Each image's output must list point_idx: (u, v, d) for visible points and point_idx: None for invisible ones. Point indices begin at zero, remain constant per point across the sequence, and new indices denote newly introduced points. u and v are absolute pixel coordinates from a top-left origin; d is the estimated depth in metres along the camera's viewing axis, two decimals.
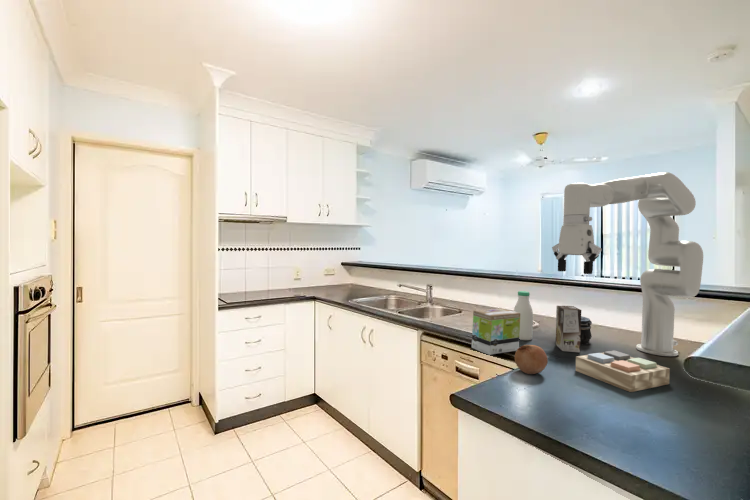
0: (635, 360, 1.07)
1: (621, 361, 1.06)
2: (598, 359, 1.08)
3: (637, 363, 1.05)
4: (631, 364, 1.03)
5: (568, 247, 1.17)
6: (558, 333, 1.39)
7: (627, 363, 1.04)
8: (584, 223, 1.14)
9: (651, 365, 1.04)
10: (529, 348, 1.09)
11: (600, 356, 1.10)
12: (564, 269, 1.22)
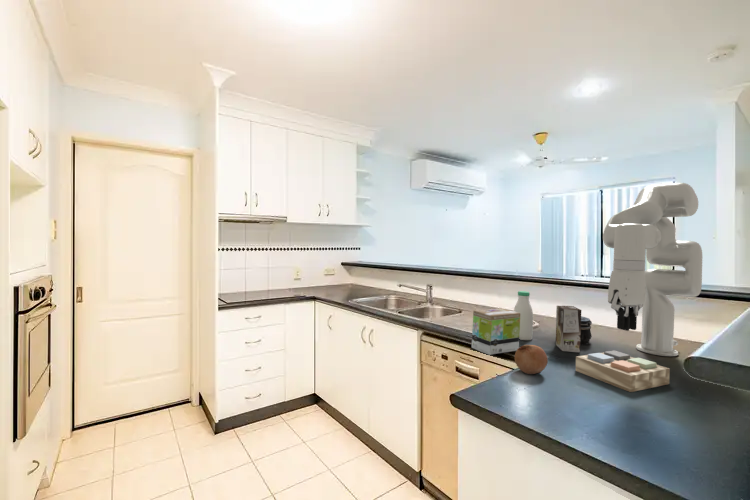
0: (635, 360, 1.07)
1: (621, 361, 1.06)
2: (598, 359, 1.08)
3: (637, 363, 1.05)
4: (631, 364, 1.03)
5: (634, 297, 1.01)
6: (558, 333, 1.39)
7: (627, 363, 1.04)
8: None
9: (651, 365, 1.04)
10: (529, 348, 1.09)
11: (600, 356, 1.10)
12: None
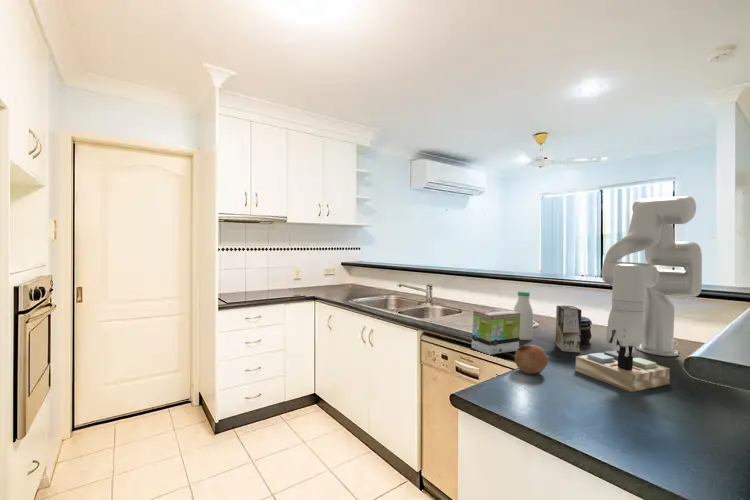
0: (635, 360, 1.07)
1: None
2: (598, 359, 1.08)
3: (637, 363, 1.05)
4: None
5: (632, 338, 1.01)
6: (558, 333, 1.39)
7: None
8: None
9: (651, 365, 1.04)
10: (529, 348, 1.09)
11: (600, 356, 1.10)
12: None
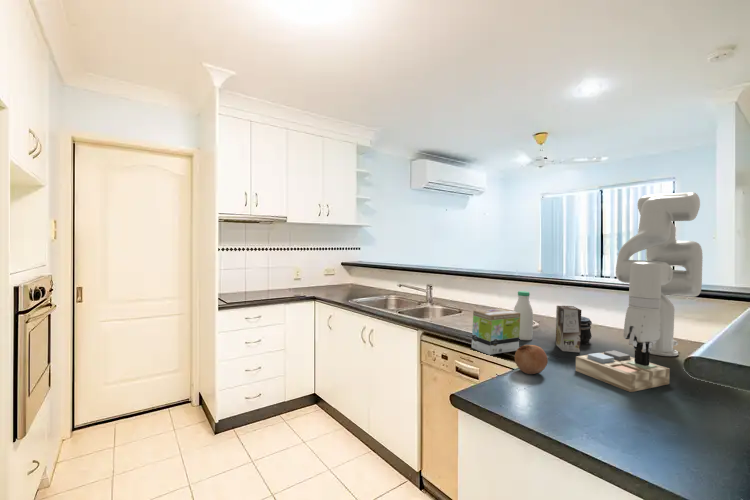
0: (635, 363, 1.07)
1: (621, 366, 1.06)
2: (598, 359, 1.08)
3: (637, 366, 1.05)
4: (631, 370, 1.03)
5: (649, 334, 1.03)
6: (558, 333, 1.39)
7: (627, 369, 1.04)
8: None
9: None
10: (529, 348, 1.09)
11: (600, 356, 1.10)
12: None
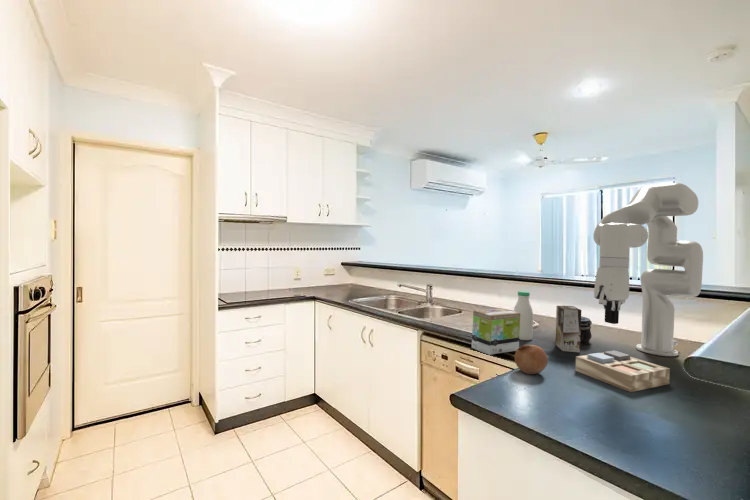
0: None
1: (621, 366, 1.06)
2: (598, 359, 1.08)
3: None
4: (631, 370, 1.03)
5: (618, 293, 1.06)
6: (558, 333, 1.39)
7: (627, 369, 1.04)
8: None
9: None
10: (529, 348, 1.09)
11: (600, 356, 1.10)
12: None
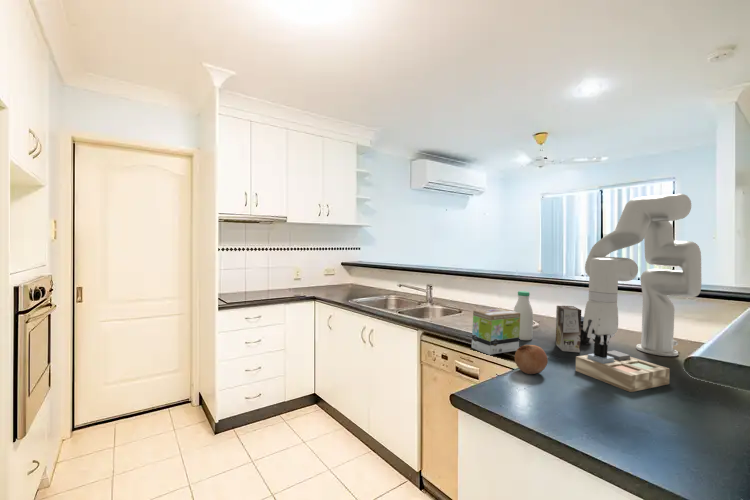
0: None
1: (621, 366, 1.06)
2: (598, 359, 1.08)
3: None
4: (631, 370, 1.03)
5: (607, 327, 1.08)
6: (558, 333, 1.39)
7: (627, 369, 1.04)
8: None
9: None
10: (529, 348, 1.09)
11: None
12: None
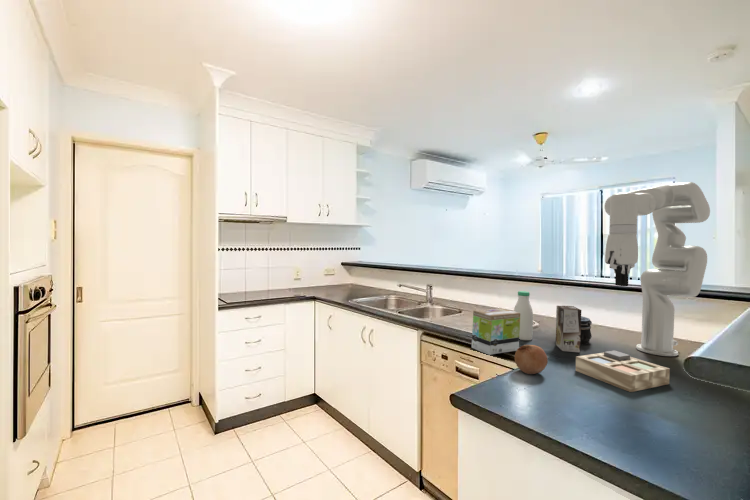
0: None
1: (621, 366, 1.06)
2: None
3: None
4: (631, 370, 1.03)
5: (628, 257, 1.15)
6: (558, 333, 1.39)
7: (627, 369, 1.04)
8: None
9: None
10: (529, 348, 1.09)
11: (600, 361, 1.10)
12: None
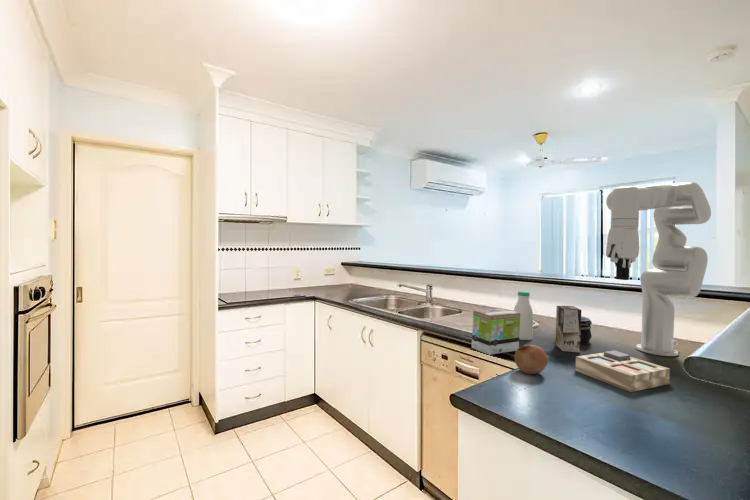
0: None
1: (621, 366, 1.06)
2: None
3: None
4: (631, 370, 1.03)
5: (629, 251, 1.15)
6: (558, 333, 1.39)
7: (627, 369, 1.04)
8: None
9: None
10: (529, 348, 1.09)
11: (600, 361, 1.10)
12: None
